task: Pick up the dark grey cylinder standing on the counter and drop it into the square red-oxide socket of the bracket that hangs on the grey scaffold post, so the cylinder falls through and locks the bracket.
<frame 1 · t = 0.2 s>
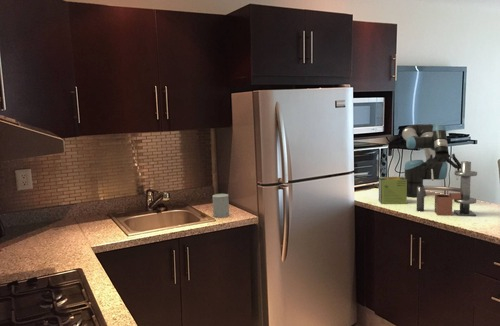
hand: (445, 179, 253), 16 cm above the countertop, tool tilted 35°, fingers open, 13 cm apart
grey-green cylinder: (221, 216, 252), on the countertop
dark grey cylinder: (420, 210, 245), on the countertop
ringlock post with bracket: (464, 213, 235), on the countertop
protein box: (392, 202, 268), on the countertop
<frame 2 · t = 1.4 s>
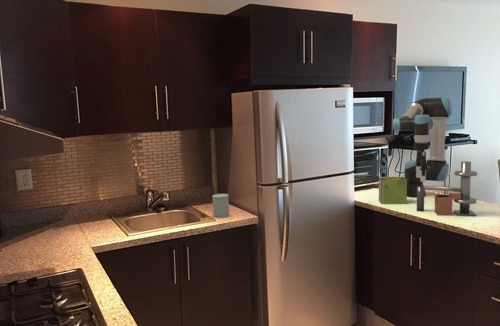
hand: (420, 179, 243), 18 cm above the countertop, tool pointing down, fingers open, 13 cm apart
nothing on the countertop moved.
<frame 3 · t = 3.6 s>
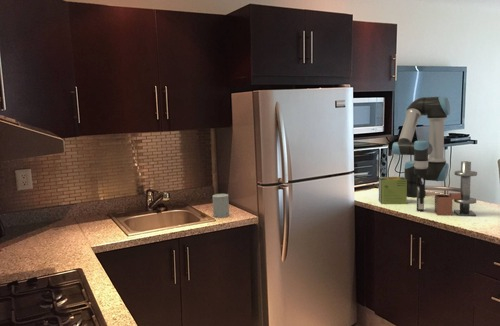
hand: (420, 207, 245), 2 cm above the countertop, tool pointing down, fingers closed on dark grey cylinder, 4 cm apart
dark grey cylinder: (420, 210, 245), on the countertop, touching gripper
everything else where it was.
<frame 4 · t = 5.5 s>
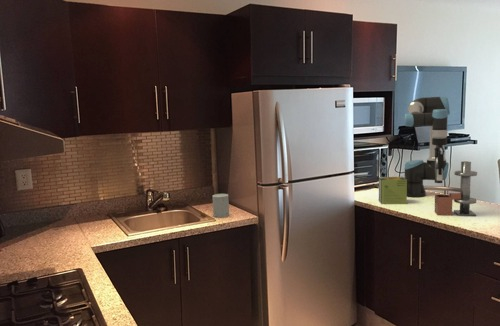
hand: (438, 179, 236), 19 cm above the countertop, tool pointing down, fingers closed on dark grey cylinder, 4 cm apart
dark grey cylinder: (438, 182, 236), point 17 cm above the countertop, touching gripper
everything else where it was.
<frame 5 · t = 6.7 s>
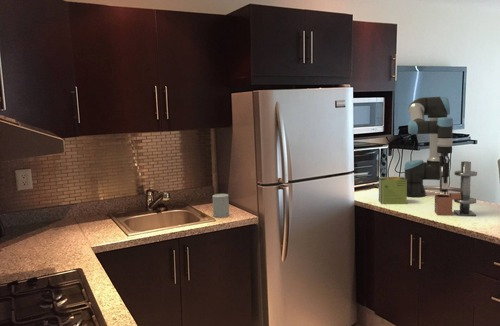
hand: (443, 187, 235), 15 cm above the countertop, tool pointing down, fingers closed on dark grey cylinder, 4 cm apart
dark grey cylinder: (443, 191, 235), point 13 cm above the countertop, touching gripper
everything else where it was.
when the fingers open (11 cm above the countertop, at t = 7.7 s): dark grey cylinder drops 7 cm, resting in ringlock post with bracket.
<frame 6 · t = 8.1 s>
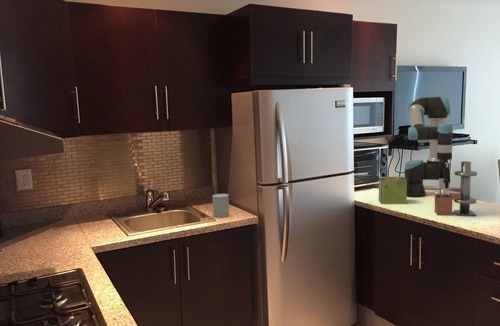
hand: (443, 192, 235), 12 cm above the countertop, tool pointing down, fingers open, 10 cm apart
dark grey cylinder: (443, 213, 237), resting in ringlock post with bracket
everything else where it was.
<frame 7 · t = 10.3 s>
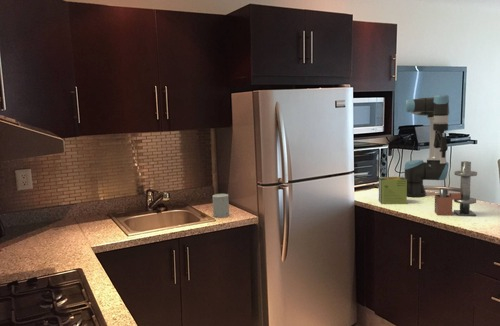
hand: (439, 161, 237), 29 cm above the countertop, tool pointing down, fingers open, 13 cm apart
nothing on the countertop moved.
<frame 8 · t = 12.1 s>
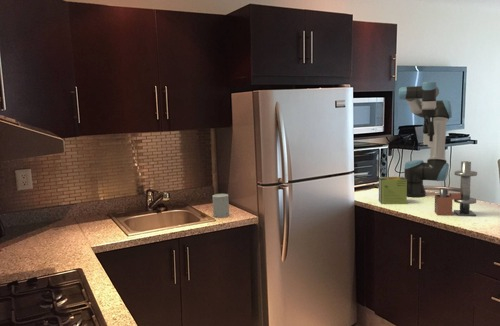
hand: (428, 145, 246), 37 cm above the countertop, tool pointing down, fingers open, 13 cm apart
nothing on the countertop moved.
at the end: dark grey cylinder 0.0 cm from the target spot on the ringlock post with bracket, point 0.0 cm above the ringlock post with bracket's base; dark grey cylinder tilted 0°; the gripper is holding nothing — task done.
